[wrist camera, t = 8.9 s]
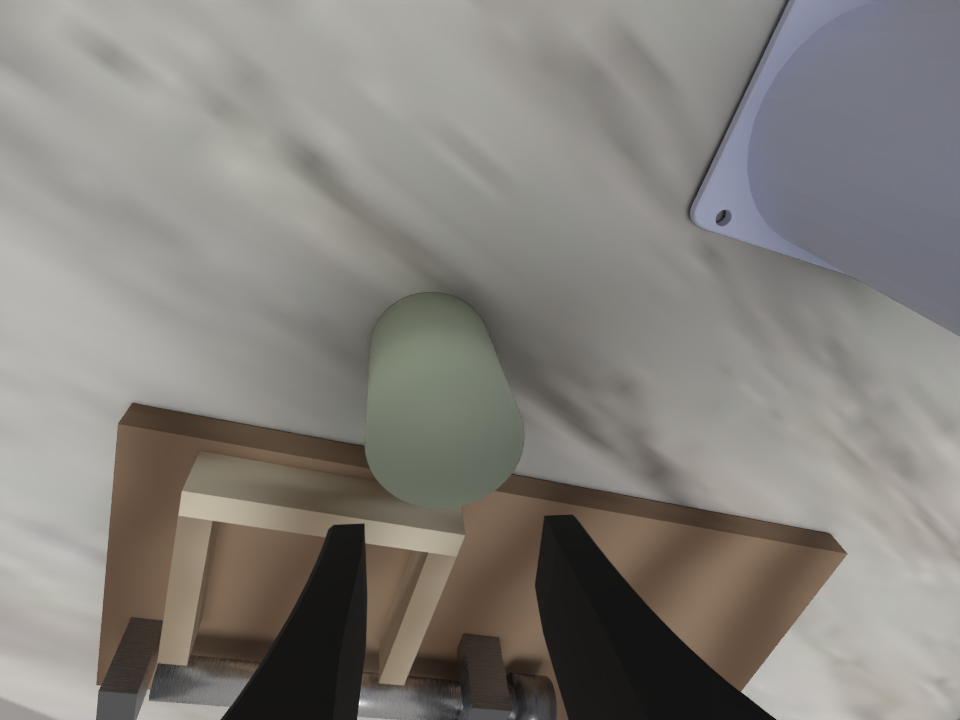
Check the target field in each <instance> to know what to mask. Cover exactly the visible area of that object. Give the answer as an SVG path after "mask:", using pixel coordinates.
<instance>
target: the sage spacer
mask: <svg viewBox="0 0 960 720" xmlns="http://www.w3.org/2000/svg"><path fill="white" fill-rule="evenodd" d="M523 446H524V425H523V421H522V417H521V415H520V412H519V410H518V407H517V405H516V402H515V400H514V397H513V395H512V392H511V390H510V387H509V385H508V382H507V380H506V377H505V375H504V372H503V370H502V367H501V365H500V362H499V360H498V357H497V355H496V352H495V350H494V347H493V345H492V342H491V340H490V337H489V335H488V332H487V330H486V327H485V325H484V323H483V321H482V319H481V318H480V316H479V315H478V314H477V312H476V311H475V310H474V309H473V308H472V307H471V306H470V305H468V304H467V303H465V302H464V301H462V300H460V299H459V298H457V297H454V296H451V295H448V294H444V293H437V292H425V293H418V294H414V295H411V296H408V297H406V298H403V299H401V300H400V301H398V302H396V303H395V304H393V305H392V306H391V307H389V308H388V309H387V310H386V311H385V312H384V313H383V315H382V316H381V317H380V319H379V320H378V322H377V324H376V325H375V328H374V330H373V333H372V337H371V343H370V358H369V375H368V392H367V410H366V427H365V454H366V458H367V462H368V465H369V467H370V470H371V471H372V473H373V475H374V477H375V478H376V479H377V481H378V482H379V483H380V484H381V485H382V486H383V487H384V488H385V489H386V490H387V491H388V492H390V493H391V494H392V495H394V496H395V497H397V498H399V499H401V500H403V501H405V502H407V503H410V504H413V505H416V506H420V507H426V508H437V509H443V508H454V507H459V506H463V505H467V504H470V503H473V502H475V501H478V500H480V499H482V498H484V497H486V496H487V495H489V494H490V493H492V492H493V491H495V490H496V489H497V488H498V487H500V486H501V485H502V484H503V483H504V482H505V481H506V480H507V479H508V478H509V476H510V475H511V474H512V472H513V471H514V469H515V468H516V466H517V464H518V462H519V460H520V457H521V454H522V451H523Z"/></svg>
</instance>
